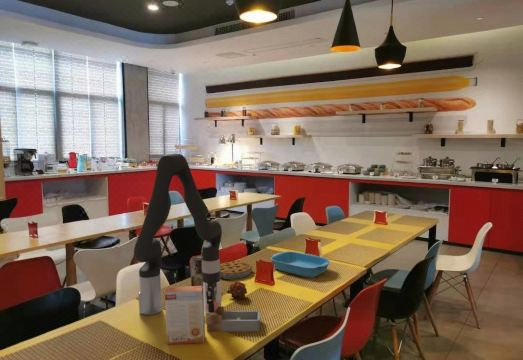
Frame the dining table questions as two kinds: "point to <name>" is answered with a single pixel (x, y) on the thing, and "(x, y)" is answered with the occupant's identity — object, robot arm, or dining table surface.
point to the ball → (214, 305)
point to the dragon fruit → (237, 290)
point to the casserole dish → (300, 263)
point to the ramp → (215, 320)
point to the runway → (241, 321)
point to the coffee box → (196, 271)
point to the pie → (234, 269)
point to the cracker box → (185, 315)
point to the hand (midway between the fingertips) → (212, 309)
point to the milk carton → (218, 295)
